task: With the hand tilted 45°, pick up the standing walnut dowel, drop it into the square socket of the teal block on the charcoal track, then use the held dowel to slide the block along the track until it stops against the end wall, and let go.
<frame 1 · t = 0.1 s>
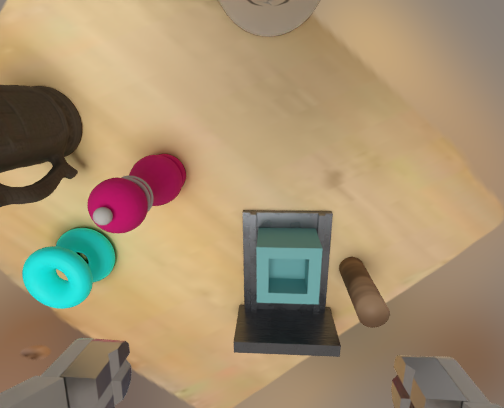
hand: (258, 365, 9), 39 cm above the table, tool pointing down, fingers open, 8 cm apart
beer stein: (62, 134, 47), on the table
track: (285, 266, 52), on the table
socket block: (287, 264, 47), point 5 cm above the table, slide at 0.0 cm
donuts: (91, 251, 54), on the table
dowel: (351, 267, 51), on the table
pepper mill: (167, 173, 48), on the table
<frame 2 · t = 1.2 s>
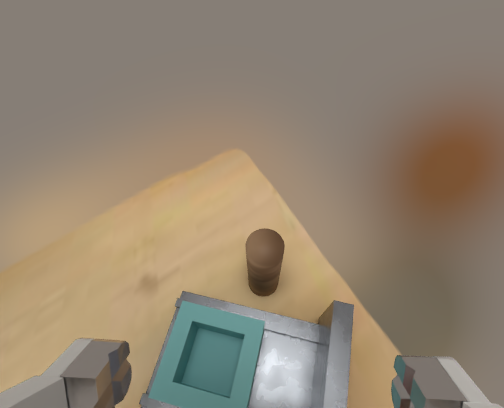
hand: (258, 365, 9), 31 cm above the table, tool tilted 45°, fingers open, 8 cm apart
track: (243, 370, 36), on the table
socket block: (214, 360, 33), point 5 cm above the table, slide at 0.0 cm
dowel: (263, 281, 42), on the table
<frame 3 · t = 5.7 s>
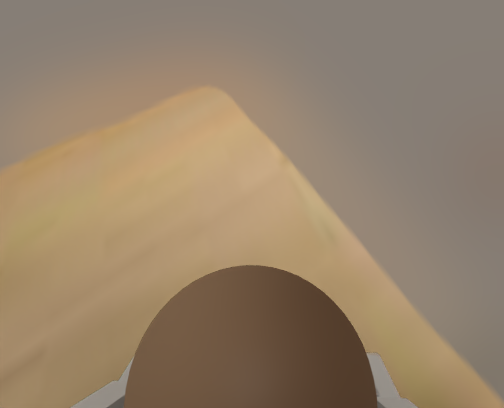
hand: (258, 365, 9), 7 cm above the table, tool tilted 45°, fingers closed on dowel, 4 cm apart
dowel: (261, 393, 15), on the table, touching gripper
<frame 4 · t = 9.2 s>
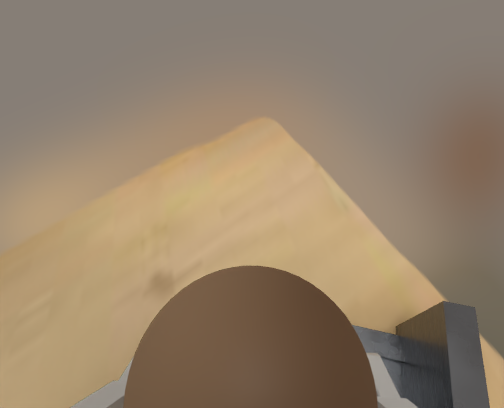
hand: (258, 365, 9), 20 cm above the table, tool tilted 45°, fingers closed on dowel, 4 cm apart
track: (297, 402, 26), on the table
dowel: (261, 393, 15), point 13 cm above the table, touching gripper
when the fingers open (12 cm above the table, at t = 13.5 s): dowel stays where it is, resting on socket block.
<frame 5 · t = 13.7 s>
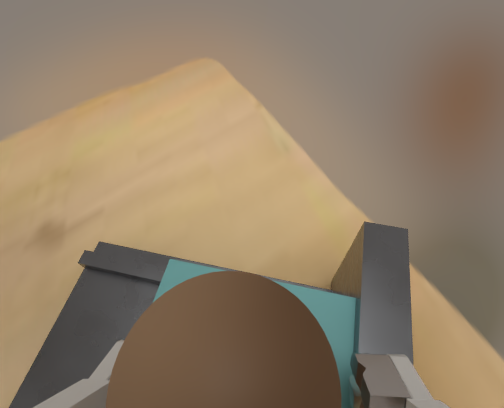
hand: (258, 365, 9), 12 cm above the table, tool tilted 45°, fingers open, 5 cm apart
track: (193, 375, 20), on the table
socket block: (240, 387, 15), point 5 cm above the table, slide at 6.5 cm, touching dowel
dowel: (251, 391, 15), point 4 cm above the table, touching socket block
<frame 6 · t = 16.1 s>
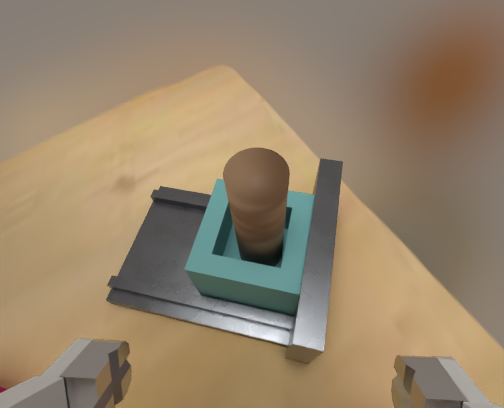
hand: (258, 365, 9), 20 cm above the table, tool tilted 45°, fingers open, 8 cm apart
track: (224, 258, 33), on the table
socket block: (254, 247, 28), point 5 cm above the table, slide at 6.5 cm, touching dowel
dowel: (260, 250, 29), point 4 cm above the table, touching socket block
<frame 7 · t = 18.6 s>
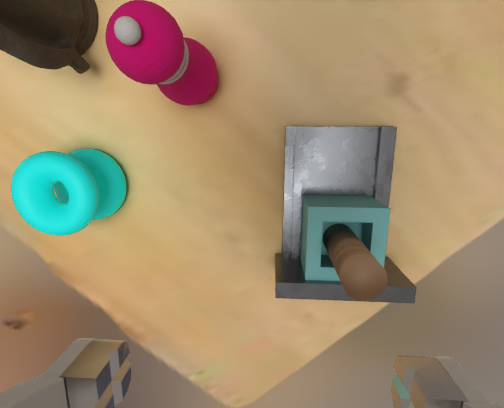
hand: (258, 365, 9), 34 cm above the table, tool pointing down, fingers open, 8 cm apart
beer stein: (73, 31, 40), on the table
track: (334, 201, 42), on the table
socket block: (339, 235, 39), point 5 cm above the table, slide at 6.5 cm, touching dowel
donuts: (97, 183, 44), on the table
dowel: (338, 238, 39), point 4 cm above the table, touching socket block
pepper mill: (195, 79, 40), on the table
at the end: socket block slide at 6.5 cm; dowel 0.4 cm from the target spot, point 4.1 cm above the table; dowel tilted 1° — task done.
